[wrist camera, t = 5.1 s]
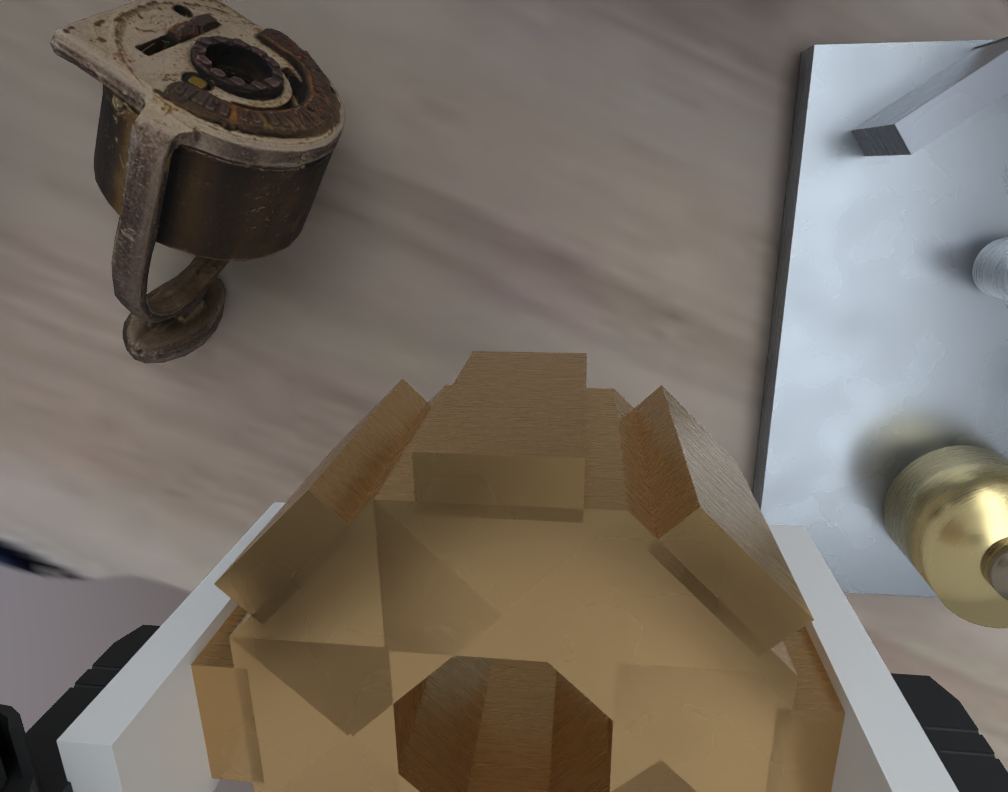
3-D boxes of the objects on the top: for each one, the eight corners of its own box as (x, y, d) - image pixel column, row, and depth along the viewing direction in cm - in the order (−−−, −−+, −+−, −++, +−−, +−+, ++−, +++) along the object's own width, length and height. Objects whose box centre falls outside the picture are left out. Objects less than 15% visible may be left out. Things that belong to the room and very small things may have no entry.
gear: (295, 348, 14) (148, 442, 9) (781, 357, 13) (891, 470, 8) (336, 722, 17) (239, 936, 12) (733, 754, 16) (794, 1001, 11)
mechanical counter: (410, 64, 25) (307, 3, 16) (333, 382, 30) (215, 483, 20) (223, 2, 25) (9, -96, 16) (173, 328, 30) (-21, 403, 20)
